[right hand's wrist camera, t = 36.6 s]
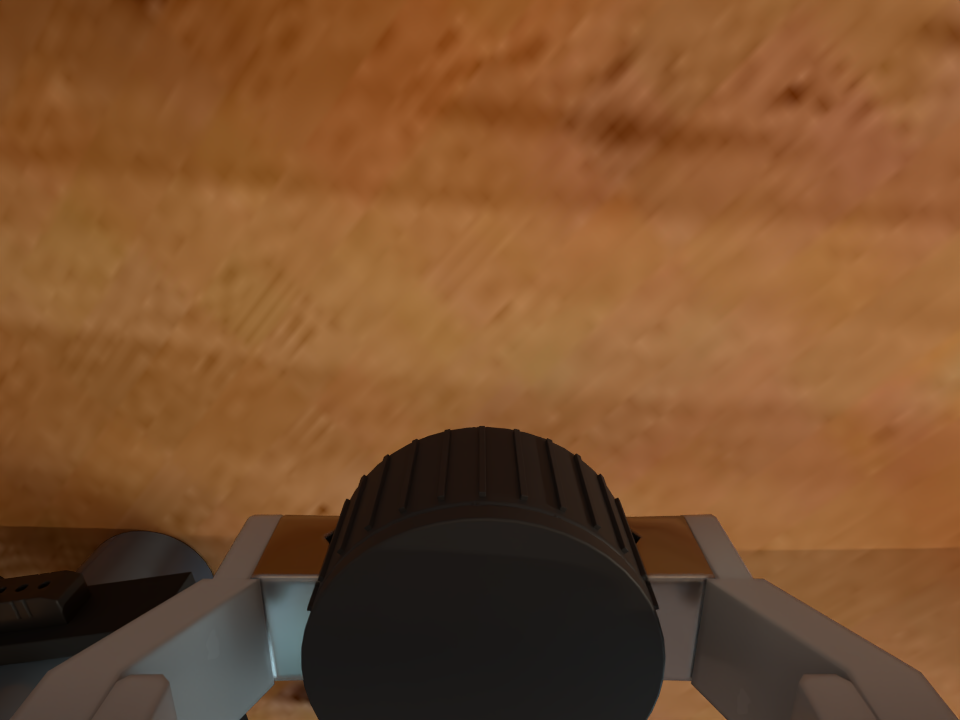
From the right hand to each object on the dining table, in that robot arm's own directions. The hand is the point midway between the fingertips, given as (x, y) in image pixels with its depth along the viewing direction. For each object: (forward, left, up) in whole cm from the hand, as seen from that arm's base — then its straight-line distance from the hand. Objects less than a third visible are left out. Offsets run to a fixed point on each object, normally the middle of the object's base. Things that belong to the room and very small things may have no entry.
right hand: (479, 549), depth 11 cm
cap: (0, 0, +2) cm, 2 cm away
